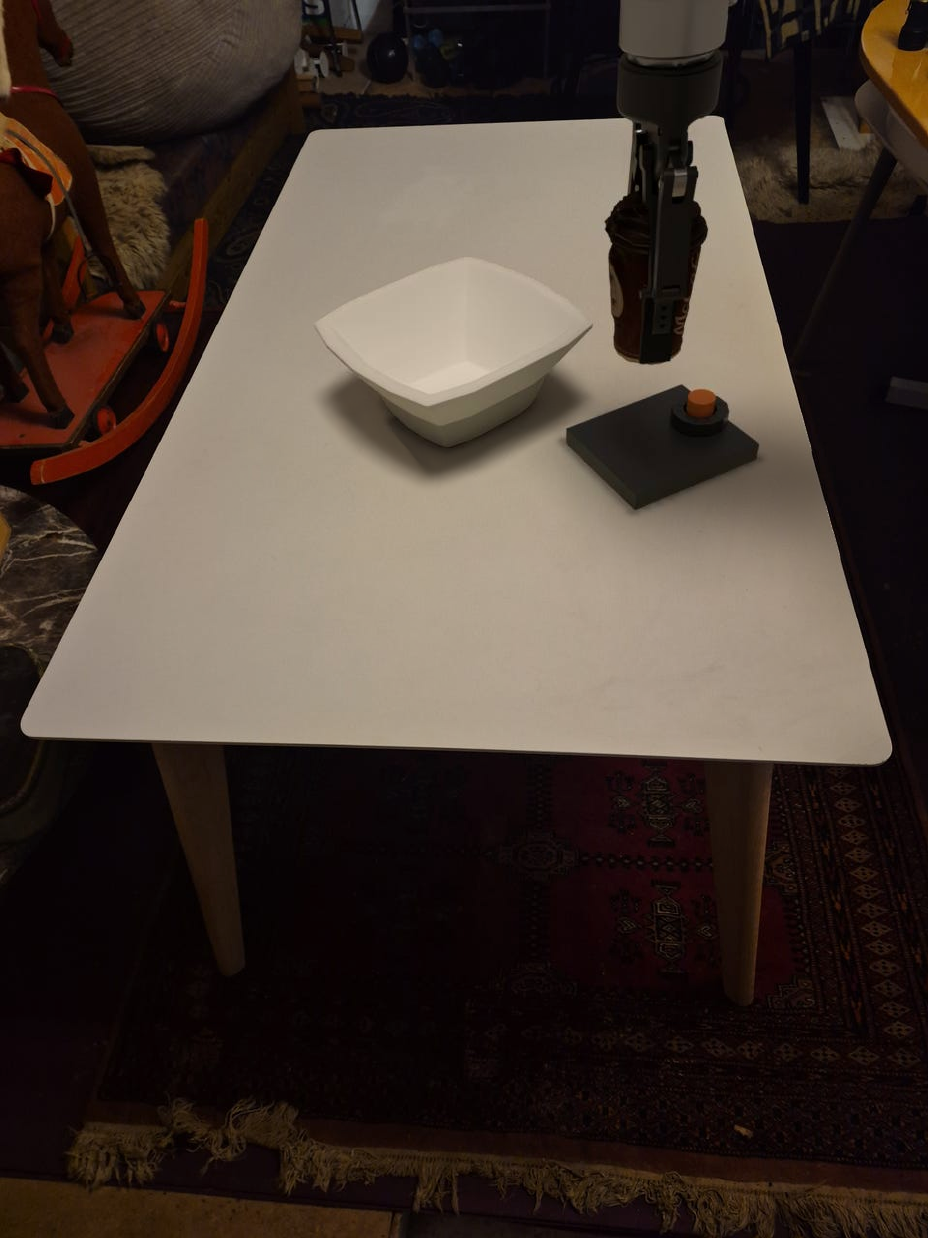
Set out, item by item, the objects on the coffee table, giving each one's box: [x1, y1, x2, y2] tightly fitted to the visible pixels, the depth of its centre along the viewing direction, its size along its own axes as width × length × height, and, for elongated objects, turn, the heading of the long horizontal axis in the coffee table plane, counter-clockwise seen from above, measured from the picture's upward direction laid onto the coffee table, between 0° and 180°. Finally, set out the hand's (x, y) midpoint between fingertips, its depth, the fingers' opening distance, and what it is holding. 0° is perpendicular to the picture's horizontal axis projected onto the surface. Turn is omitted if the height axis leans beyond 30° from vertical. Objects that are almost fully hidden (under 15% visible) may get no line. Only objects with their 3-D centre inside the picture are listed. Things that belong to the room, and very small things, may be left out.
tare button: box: [686, 388, 717, 418], centre depth 89 cm, size 3×3×2 cm
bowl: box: [313, 255, 594, 448], centre depth 96 cm, size 24×25×10 cm
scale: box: [565, 384, 761, 510], centre depth 89 cm, size 15×13×4 cm
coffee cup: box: [603, 191, 709, 366], centre depth 75 cm, size 9×8×13 cm
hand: (646, 335), depth 79 cm, fingers closed on coffee cup, 8 cm apart
